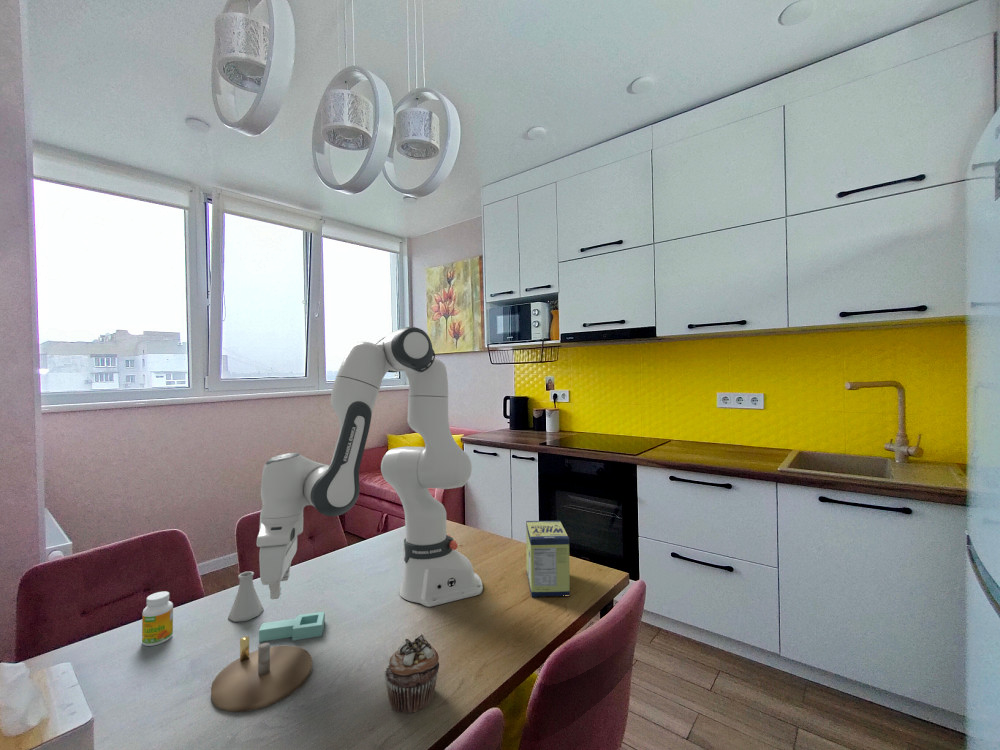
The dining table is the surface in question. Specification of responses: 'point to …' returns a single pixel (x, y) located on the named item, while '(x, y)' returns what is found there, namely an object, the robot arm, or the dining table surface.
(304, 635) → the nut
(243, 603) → the flask
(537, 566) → the protein box
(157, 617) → the supplement bottle
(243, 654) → the dowel
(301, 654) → the disc base
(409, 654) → the cupcake
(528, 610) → the dining table surface
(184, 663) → the dining table surface
